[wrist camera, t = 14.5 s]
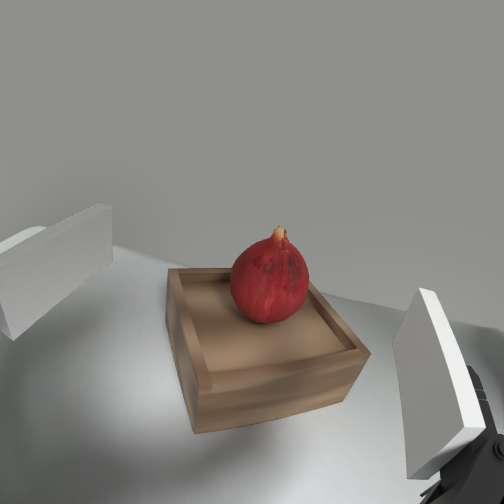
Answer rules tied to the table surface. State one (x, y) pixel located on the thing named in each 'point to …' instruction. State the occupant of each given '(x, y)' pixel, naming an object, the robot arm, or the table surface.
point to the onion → (269, 279)
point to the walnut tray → (254, 354)
